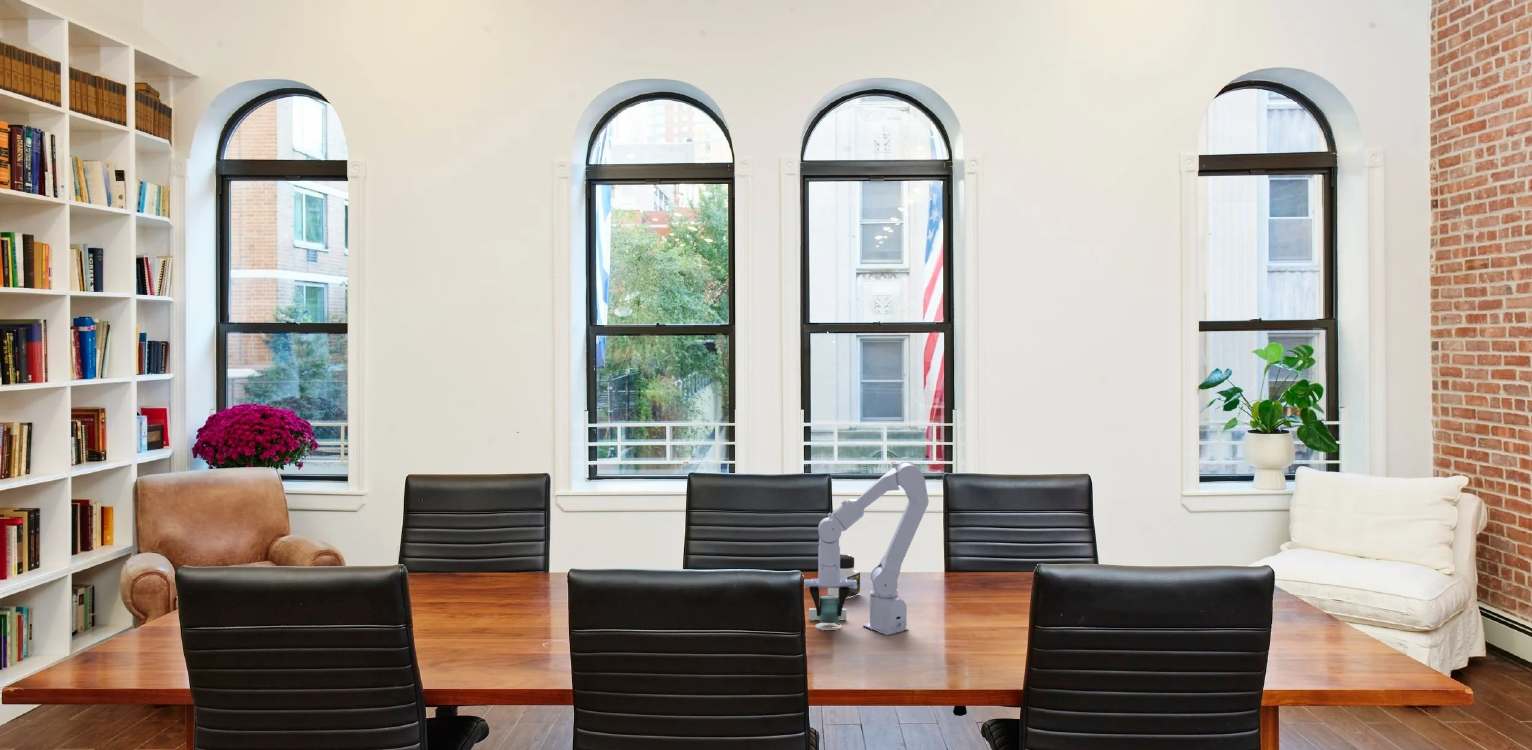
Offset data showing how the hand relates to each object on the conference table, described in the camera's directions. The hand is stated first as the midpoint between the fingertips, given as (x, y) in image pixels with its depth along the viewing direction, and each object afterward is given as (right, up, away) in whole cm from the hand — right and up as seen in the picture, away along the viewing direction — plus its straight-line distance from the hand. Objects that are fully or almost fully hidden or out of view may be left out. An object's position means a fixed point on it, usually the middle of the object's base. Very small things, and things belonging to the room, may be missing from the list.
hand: (828, 615), depth 240 cm
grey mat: (0, -3, 0) cm, 3 cm away
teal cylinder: (0, -2, 0) cm, 2 cm away
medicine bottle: (+7, -3, +31) cm, 31 cm away
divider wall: (0, -3, +6) cm, 7 cm away
